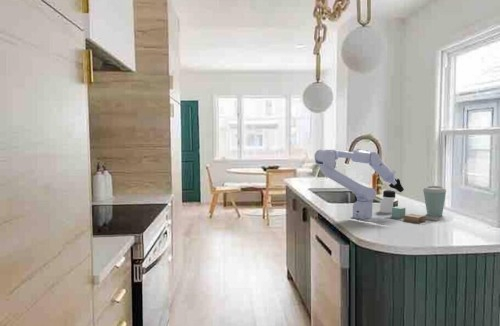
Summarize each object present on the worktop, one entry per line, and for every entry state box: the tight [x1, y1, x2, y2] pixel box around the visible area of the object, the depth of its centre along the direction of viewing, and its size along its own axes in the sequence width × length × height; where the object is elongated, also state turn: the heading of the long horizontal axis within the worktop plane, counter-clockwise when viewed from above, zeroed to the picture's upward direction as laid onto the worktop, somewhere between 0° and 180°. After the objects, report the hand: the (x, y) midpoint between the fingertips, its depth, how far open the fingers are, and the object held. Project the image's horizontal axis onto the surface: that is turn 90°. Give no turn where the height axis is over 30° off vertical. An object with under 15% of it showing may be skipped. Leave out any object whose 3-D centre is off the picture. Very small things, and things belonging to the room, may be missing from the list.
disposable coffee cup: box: [422, 185, 447, 217], centre depth 208 cm, size 11×11×15 cm
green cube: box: [391, 206, 407, 218], centre depth 202 cm, size 4×4×4 cm
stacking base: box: [385, 213, 438, 226], centre depth 196 cm, size 14×20×4 cm
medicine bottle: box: [379, 189, 399, 214], centre depth 216 cm, size 7×7×12 cm
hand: (399, 187), depth 208 cm, fingers open, 7 cm apart
